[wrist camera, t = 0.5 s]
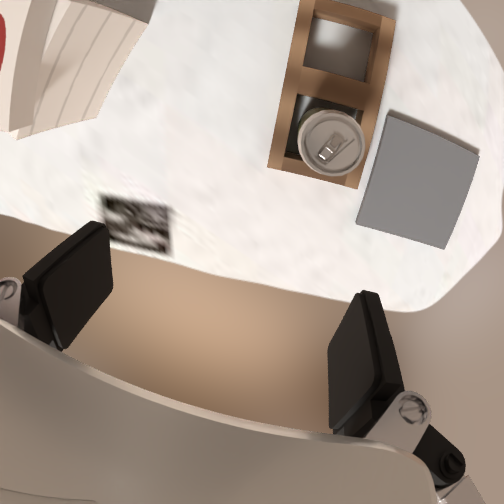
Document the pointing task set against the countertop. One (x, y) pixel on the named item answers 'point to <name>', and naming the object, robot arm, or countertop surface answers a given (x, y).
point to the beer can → (330, 141)
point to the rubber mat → (416, 184)
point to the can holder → (332, 83)
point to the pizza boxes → (59, 61)
